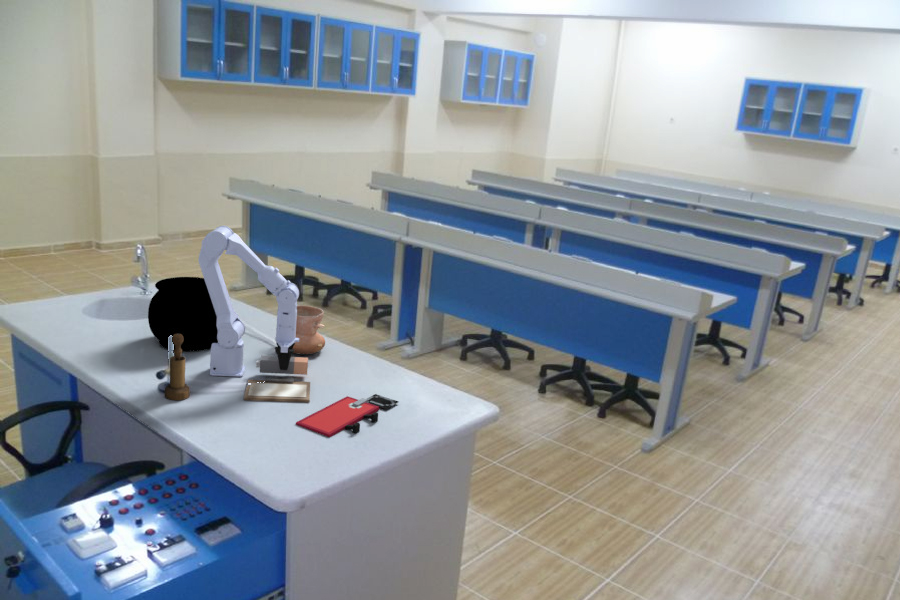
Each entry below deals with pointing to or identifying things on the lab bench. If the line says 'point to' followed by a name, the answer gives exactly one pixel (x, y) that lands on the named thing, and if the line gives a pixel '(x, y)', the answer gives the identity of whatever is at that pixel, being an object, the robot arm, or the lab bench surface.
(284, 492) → the lab bench surface
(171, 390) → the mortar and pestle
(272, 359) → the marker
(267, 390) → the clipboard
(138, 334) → the lab bench surface
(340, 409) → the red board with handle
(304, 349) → the ceramic jug
